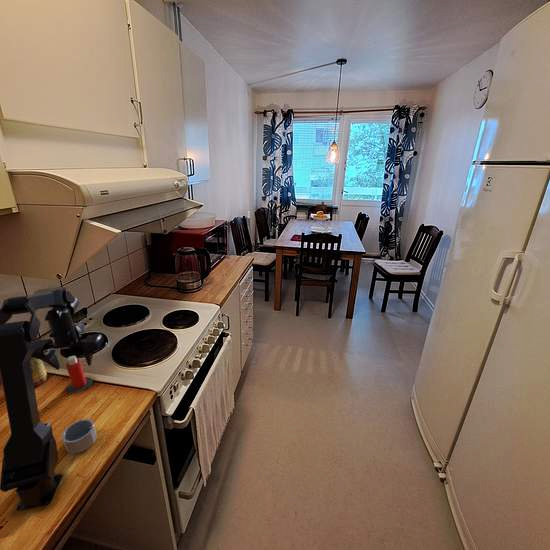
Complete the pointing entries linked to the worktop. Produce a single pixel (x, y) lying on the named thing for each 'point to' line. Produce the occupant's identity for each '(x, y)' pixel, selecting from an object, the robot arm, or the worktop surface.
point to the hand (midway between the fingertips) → (74, 366)
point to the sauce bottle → (38, 371)
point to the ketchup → (76, 372)
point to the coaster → (88, 384)
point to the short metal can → (79, 436)
